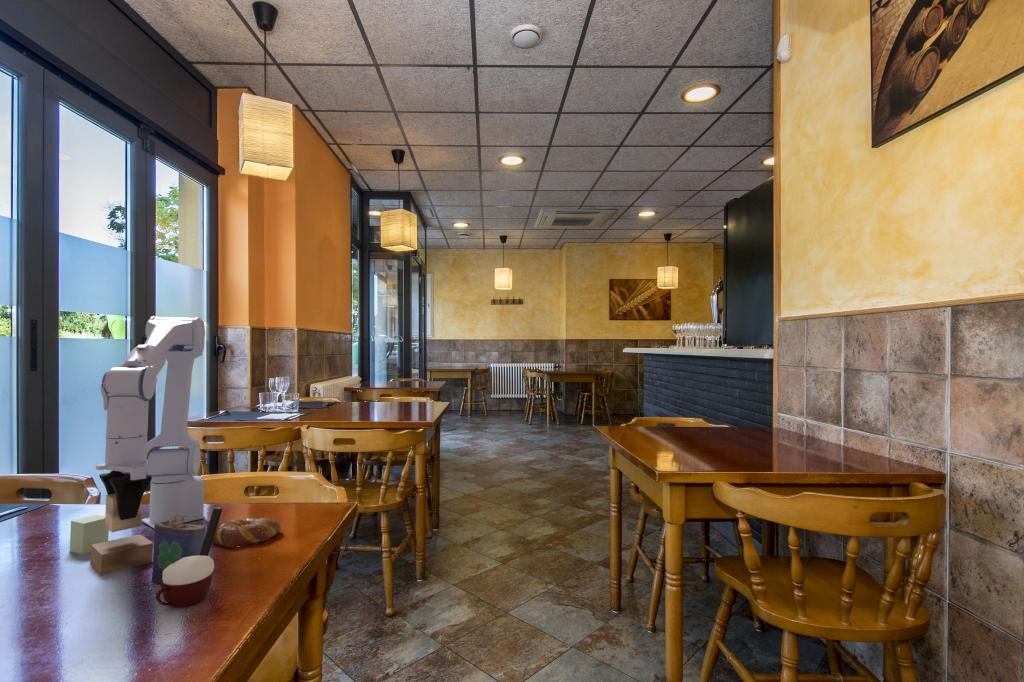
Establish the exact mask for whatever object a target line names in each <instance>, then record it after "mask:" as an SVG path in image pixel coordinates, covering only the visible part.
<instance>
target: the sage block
mask: <svg viewBox="0 0 1024 682" xmlns="http://www.w3.org/2000/svg"><path fill="white" fill-rule="evenodd" d="M109 532H110V531H109V530H108V529H107V528H105V515H100V514H93V515H89V516H85V517H80V518H77V519H72V520H70V535H69V537H70V538H69V552H72V553H74V552H75V554H78V555H82V556H83V555H87V554H91V545H92V544H97V543H101V542H106V541H109Z"/></svg>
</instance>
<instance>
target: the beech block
mask: <svg viewBox="0 0 1024 682" xmlns="http://www.w3.org/2000/svg"><path fill="white" fill-rule="evenodd" d="M142 500H143V498H142V499H141V503H140V506H139V510H138V513H137V516H136V517H135V518H131V519H126V520H120V517H119V513H118V506H117V499H116V495H115V494H109V495H108V494H105V515H104V516H105V528H107V529H108V530H109V532H111V533H115V532H116V533H117V532H121V531H125V530H130V529H135V528H139V527H141V526H142Z"/></svg>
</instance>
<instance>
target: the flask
mask: <svg viewBox="0 0 1024 682" xmlns="http://www.w3.org/2000/svg"><path fill="white" fill-rule="evenodd" d="M171 517H172V518H175V520H171V519H168V520H166V521H162V522H158V523H156V524H155V529H154V539H153V556H152V570H151V572H152V574H151V583H152V584H154V585H158V586H161V581H162V576H163V570H164V569H165V568H167V567H168V566H169V565H171V564H173V563H175V562H177V561H178V560H180V559H182V558H184V557H189V556H199V555H200V551H201V548H202V545H203V542H204V538H205V535H206V530H207V529H206V525H203V524H189V523H185V522H184V521H185V520H184V519H183V518H185V517H186V514H185V513H183V515H180V514H175V516H174V514H173V515H171Z"/></svg>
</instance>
